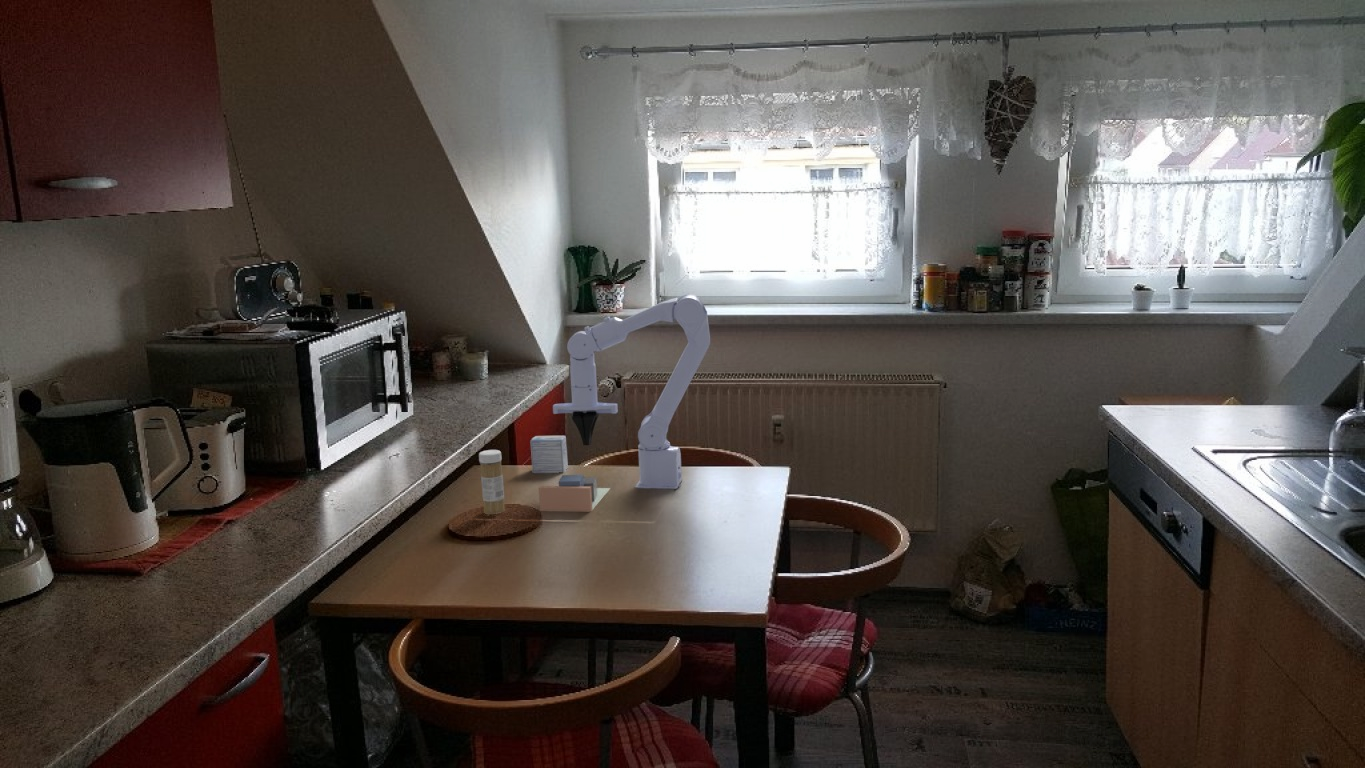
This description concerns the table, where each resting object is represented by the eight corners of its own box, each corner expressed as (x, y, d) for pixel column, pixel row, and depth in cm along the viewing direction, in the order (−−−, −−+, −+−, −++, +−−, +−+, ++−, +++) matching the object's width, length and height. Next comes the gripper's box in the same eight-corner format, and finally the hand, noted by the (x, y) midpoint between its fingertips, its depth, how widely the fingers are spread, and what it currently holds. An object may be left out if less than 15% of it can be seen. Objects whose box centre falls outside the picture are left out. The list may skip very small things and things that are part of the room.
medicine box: (568, 469, 238) (566, 435, 237) (564, 474, 234) (562, 439, 232) (536, 470, 239) (534, 435, 237) (532, 475, 235) (529, 439, 233)
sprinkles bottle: (498, 509, 208) (494, 448, 205) (509, 513, 204) (505, 451, 202) (479, 514, 205) (474, 452, 203) (490, 518, 202) (485, 455, 199)
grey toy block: (596, 477, 214) (593, 483, 209) (597, 494, 214) (594, 501, 210) (564, 477, 214) (560, 484, 209) (565, 495, 215) (562, 502, 210)
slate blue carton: (584, 501, 210) (583, 474, 209) (581, 508, 205) (579, 481, 204) (564, 502, 210) (562, 475, 209) (560, 509, 205) (558, 481, 204)
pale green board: (610, 489, 219) (609, 466, 218) (591, 513, 203) (589, 488, 202) (563, 489, 221) (561, 466, 220) (540, 512, 205) (538, 487, 204)
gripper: (619, 381, 221) (622, 440, 223) (557, 382, 223) (561, 440, 226) (612, 387, 214) (615, 447, 217) (548, 387, 217) (552, 447, 219)
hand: (587, 444), depth 221 cm, fingers closed
